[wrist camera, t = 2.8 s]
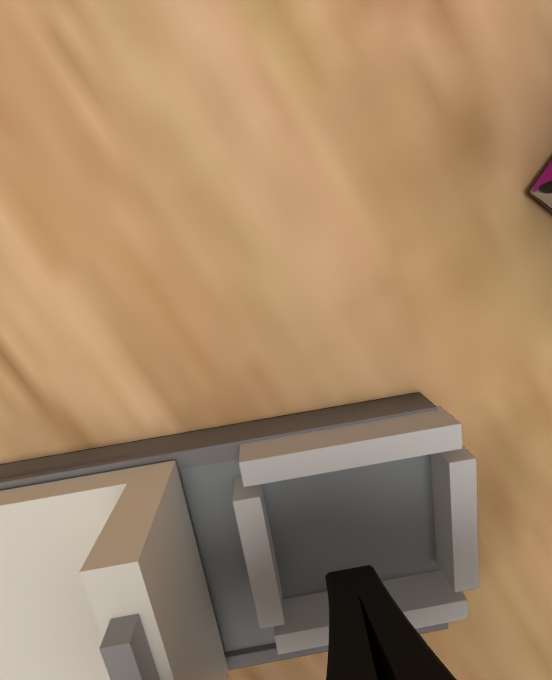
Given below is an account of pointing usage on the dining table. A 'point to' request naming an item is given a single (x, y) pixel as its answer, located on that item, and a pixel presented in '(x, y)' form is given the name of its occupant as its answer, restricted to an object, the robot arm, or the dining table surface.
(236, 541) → the board
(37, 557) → the cover
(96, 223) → the dining table surface
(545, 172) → the candy bar box
